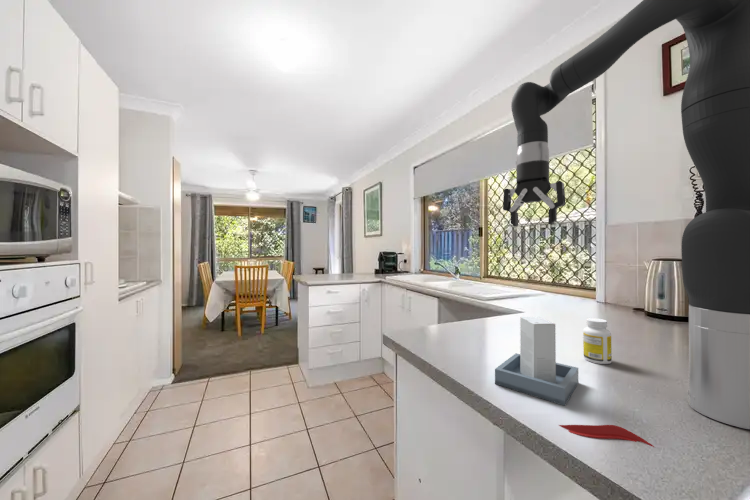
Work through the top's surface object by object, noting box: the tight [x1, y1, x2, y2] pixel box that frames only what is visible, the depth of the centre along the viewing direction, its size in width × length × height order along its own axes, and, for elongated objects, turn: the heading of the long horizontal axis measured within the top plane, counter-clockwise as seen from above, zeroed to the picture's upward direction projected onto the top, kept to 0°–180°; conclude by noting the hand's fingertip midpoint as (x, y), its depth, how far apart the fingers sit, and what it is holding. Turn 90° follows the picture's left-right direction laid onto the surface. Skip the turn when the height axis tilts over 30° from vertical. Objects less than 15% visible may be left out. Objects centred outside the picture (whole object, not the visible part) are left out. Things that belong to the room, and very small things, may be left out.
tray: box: [494, 353, 579, 407], centre depth 59 cm, size 12×12×3 cm
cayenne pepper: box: [558, 424, 655, 448], centre depth 43 cm, size 12×5×2 cm, turn 55°
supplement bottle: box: [582, 317, 613, 365], centre depth 71 cm, size 5×5×10 cm
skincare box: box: [519, 316, 557, 384], centre depth 59 cm, size 6×4×12 cm
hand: (532, 225), depth 77 cm, fingers open, 8 cm apart
